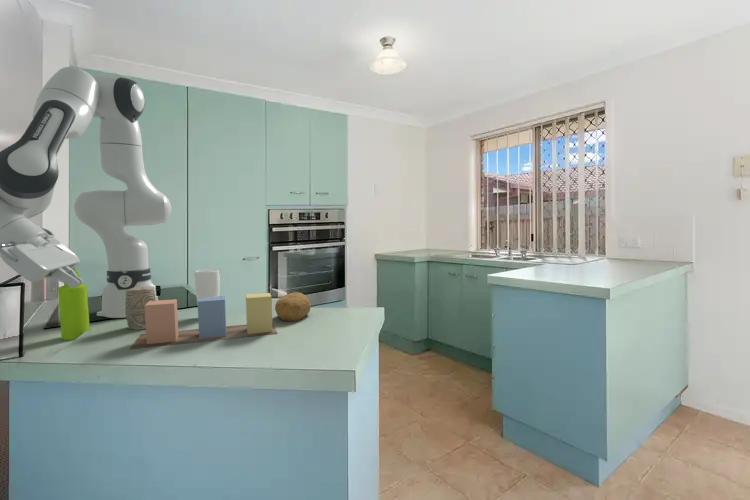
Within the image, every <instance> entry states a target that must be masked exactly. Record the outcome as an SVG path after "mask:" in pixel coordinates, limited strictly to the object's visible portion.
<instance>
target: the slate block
mask: <svg viewBox="0 0 750 500" xmlns="http://www.w3.org/2000/svg"><path fill="white" fill-rule="evenodd" d="M197 314H198V315H197V318H198V319H197V321H198V329H199V339H204V338H214V337H224V336H226V326H227V314H226V296H225V295H223V296H222V295H221V296H220V295H219V296H218V297H203V298H199V299H198V304H197Z"/></svg>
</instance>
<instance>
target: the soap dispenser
mask: <svg viewBox="0 0 750 500" xmlns="http://www.w3.org/2000/svg"><path fill="white" fill-rule="evenodd" d="M73 271H74V272H75V273H76V274H77V276H78V277H80V278H81V272H80V271H78V270H76V266H75V267H74V268H73ZM57 292H58V294H57V295H58V307H59V309H58V310H59V319H60V320H59V322H60V323H59V324H60V334H61V335H60V336H61V340H63V339H64V341H71V340H73V339H75V340H76V339H78V338H79V337H80V336H82V335H83V334H85V333H86V332H88V331H90V329H91V328H90V314H89V312H90V310H89V301H88V300H89V299H88V285H87V284H84V283H82V284H81V285H80V286H78V287H75V288H71V287H70V286H68V285H67V284H65V283H63V285H62V286H59V287H58V288H57Z"/></svg>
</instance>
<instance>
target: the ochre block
mask: <svg viewBox="0 0 750 500" xmlns="http://www.w3.org/2000/svg"><path fill="white" fill-rule="evenodd" d="M272 299H273V298H272V295H271V293H270V292H265V293H249V294H248V293H247V294H245V313H246V325H247V333H248V334H253V333H263V332H273V330H272V322H273V305H272V304H273V303H272V302H273V300H272Z"/></svg>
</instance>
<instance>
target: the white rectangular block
mask: <svg viewBox="0 0 750 500" xmlns="http://www.w3.org/2000/svg"><path fill="white" fill-rule="evenodd" d="M220 279H221V276H220V270H219V269H217V268H215V269H211V268H207V269H206V268H205V269H197V270H195V271H194V287H195V288H194V289H195V296H196V303H197V304H196V305H198V299H199V298H203V297H218V296H220V288H221V287H220V285H221V280H220Z"/></svg>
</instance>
